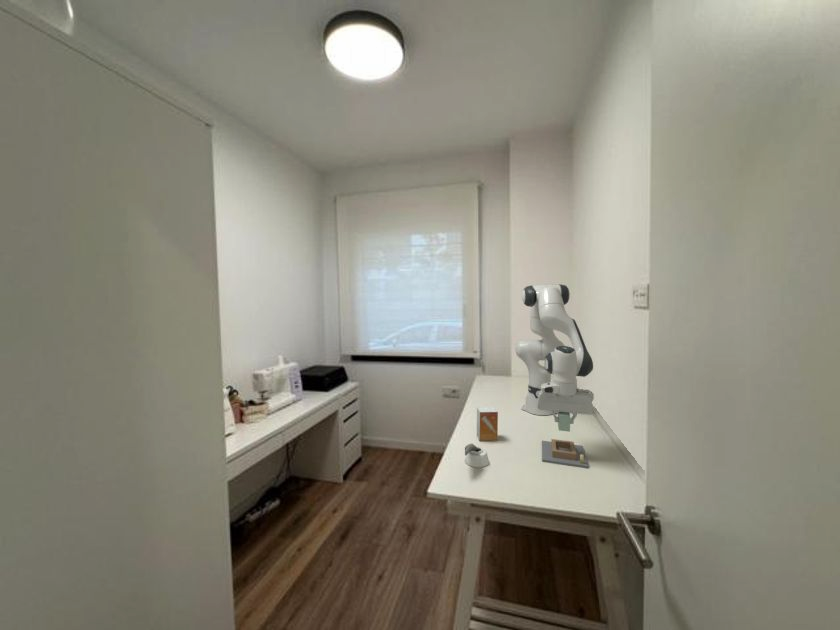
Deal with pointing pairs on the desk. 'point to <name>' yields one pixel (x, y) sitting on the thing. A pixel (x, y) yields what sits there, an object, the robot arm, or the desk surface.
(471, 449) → the inkwell
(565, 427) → the sage block
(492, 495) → the desk surface
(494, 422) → the small box
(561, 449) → the keyed plate
